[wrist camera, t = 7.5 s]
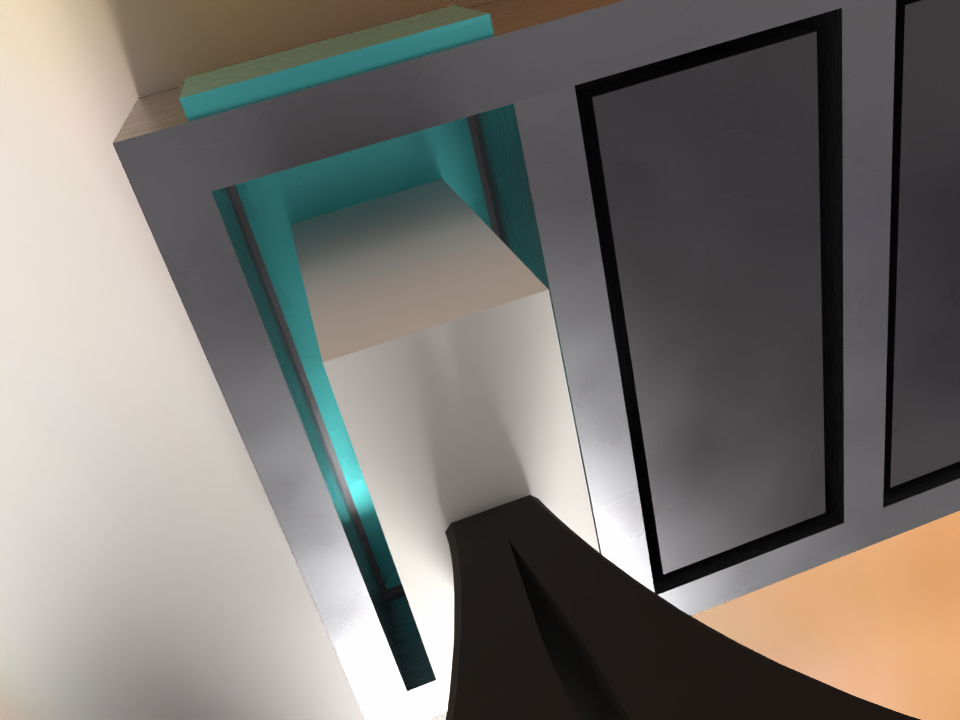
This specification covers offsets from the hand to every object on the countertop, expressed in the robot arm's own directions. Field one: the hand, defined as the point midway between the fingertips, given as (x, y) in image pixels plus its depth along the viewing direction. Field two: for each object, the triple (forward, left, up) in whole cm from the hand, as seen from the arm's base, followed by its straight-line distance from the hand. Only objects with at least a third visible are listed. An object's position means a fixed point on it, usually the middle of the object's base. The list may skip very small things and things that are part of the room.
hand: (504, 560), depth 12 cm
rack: (-6, 0, -7) cm, 9 cm away
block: (0, 0, -6) cm, 6 cm away
